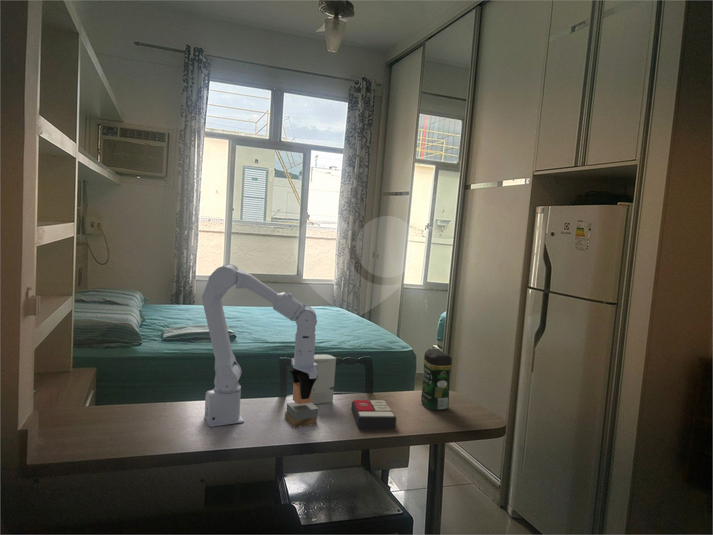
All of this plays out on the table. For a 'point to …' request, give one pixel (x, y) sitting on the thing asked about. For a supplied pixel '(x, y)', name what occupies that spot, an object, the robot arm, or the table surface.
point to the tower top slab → (302, 410)
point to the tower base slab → (300, 421)
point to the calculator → (373, 414)
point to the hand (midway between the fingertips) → (302, 395)
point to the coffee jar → (436, 380)
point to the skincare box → (324, 379)
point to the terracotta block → (299, 395)
